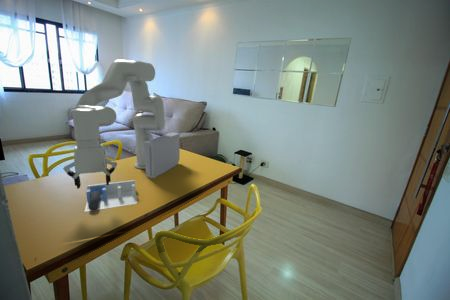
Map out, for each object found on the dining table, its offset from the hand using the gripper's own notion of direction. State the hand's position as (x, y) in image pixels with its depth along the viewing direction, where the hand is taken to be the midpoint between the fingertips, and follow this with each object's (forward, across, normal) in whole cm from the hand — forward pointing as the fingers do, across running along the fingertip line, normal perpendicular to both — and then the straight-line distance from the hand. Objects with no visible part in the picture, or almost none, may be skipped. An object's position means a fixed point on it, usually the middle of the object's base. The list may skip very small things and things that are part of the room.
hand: (93, 185), depth 84 cm
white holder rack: (+10, -6, -6) cm, 13 cm away
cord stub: (+9, 0, -3) cm, 10 cm away
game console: (+10, -32, -33) cm, 47 cm away
